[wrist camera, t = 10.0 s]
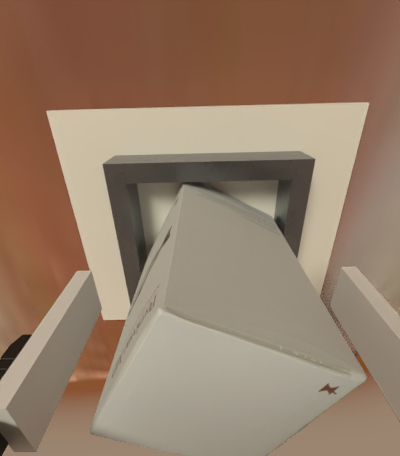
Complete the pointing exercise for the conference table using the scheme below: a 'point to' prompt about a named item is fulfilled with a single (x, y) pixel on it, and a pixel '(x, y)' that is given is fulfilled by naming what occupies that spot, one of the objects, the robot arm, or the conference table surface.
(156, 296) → the supplement box
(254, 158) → the collar
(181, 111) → the base plate
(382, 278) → the conference table surface
